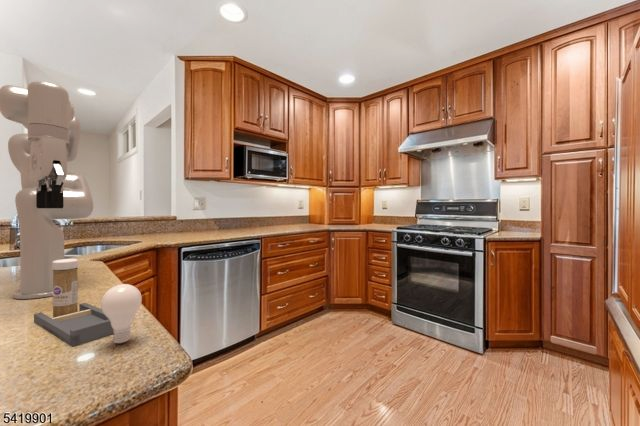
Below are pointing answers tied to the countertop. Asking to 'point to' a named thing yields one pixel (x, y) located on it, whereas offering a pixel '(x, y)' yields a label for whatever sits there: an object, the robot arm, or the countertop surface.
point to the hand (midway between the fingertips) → (49, 207)
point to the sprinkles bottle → (65, 287)
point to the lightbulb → (121, 309)
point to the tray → (77, 325)
